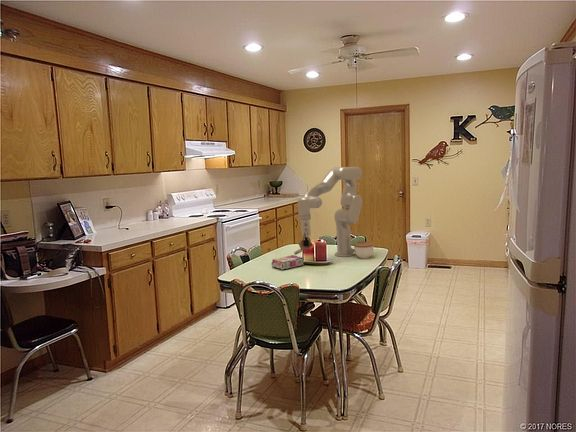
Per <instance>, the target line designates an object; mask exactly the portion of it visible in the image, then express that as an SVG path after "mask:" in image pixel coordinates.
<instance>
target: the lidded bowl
mask: <svg viewBox="0 0 576 432" xmlns="http://www.w3.org/2000/svg"><path fill="white" fill-rule="evenodd" d="M353 249H354V250H355V252H354V254H355V255H356V256H357V257H358V259H364V260H365V259H369V258H370V257H371V256H372V254H373V252H374V243H373V242H370V241H365V240H362V241H359V242H358V241H357V242H355V243H353Z"/></svg>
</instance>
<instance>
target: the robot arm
mask: <svg viewBox="0 0 576 432" xmlns="http://www.w3.org/2000/svg"><path fill="white" fill-rule="evenodd" d="M362 176H363V171H362V168H361V167H358V166H344V167H343V166H337V167H335V166H334V167H333V168H330V170H329V171H328V172H327V174H326V175H324V177H323V179H322V180H321V181H320V182H319V183H317V184H316V185H315V186H313V187H312V188H310V189H309V190H308V191H307V192H306V194H305V195H304V196H303V197H298V199H297V208H298V209H297V210H298V212H297V213H298V220H299V221H300V228H301V235H302V240H303V239H304V246H309V240H308V237H309V236H311V225H310V224H311V223H310V221H311V218H312V217H311V209H319V208H321V206H322V205H323V200H322V198H320V196H322V195H323V194H326V193H329V192H331V191H332V189H333V188H334V187H335V186H336V185H337V183H338V181H343V190H342V194H341V198H340V205H341V207H343V208H339V209H337V210H335V212H334V222H335V228H336V251H337V252H335V254H334V255H335V256H336V257H341V258H342V257H345V258H346V257H352V256H354V254H355V250H354V248H353V247H352V235H351V234H352V233H351V231H352V230H351V226H350V225H354V224H356V223H357V222H358V220H359V217H360V213H361V210H362V207H363V198H362V196H361V195H360V194H358V193H357V187H358V186H357V183H356V181H358V180H360V179H361V178H362Z"/></svg>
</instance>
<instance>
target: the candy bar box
mask: <svg viewBox="0 0 576 432" xmlns="http://www.w3.org/2000/svg"><path fill="white" fill-rule="evenodd" d="M272 262H273V267H276V268H275V269H280V270H287V269H291V268H297V267H296V266H298V267H301V266H305V265H304V257H303V256H302V257H301V256H298V255H295V254H294V255H288V256H287V255H286V256H282V257H278V258H273V259H272ZM272 262H271V263H272Z"/></svg>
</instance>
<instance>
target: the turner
mask: <svg viewBox="0 0 576 432" xmlns="http://www.w3.org/2000/svg"><path fill="white" fill-rule="evenodd" d="M308 240H309V246H304V239H303V238H302V239H301V240H299V241H297V244H298V246H299V248H298V250H297V249H296V250H295V251H293V253H294V256H297V255H299V254H300V253H303V252H304V251H306V250H309V248H312V247H313V246H314V244H313V242H312V240H311V238H310V237H309V236H308Z"/></svg>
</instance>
